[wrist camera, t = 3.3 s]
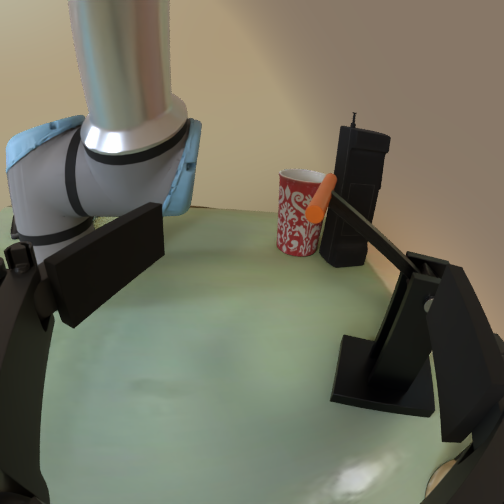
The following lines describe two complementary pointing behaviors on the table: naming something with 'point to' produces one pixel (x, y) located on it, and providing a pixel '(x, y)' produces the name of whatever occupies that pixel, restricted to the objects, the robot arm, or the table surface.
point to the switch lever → (359, 226)
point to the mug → (297, 212)
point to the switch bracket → (394, 352)
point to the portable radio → (354, 193)
